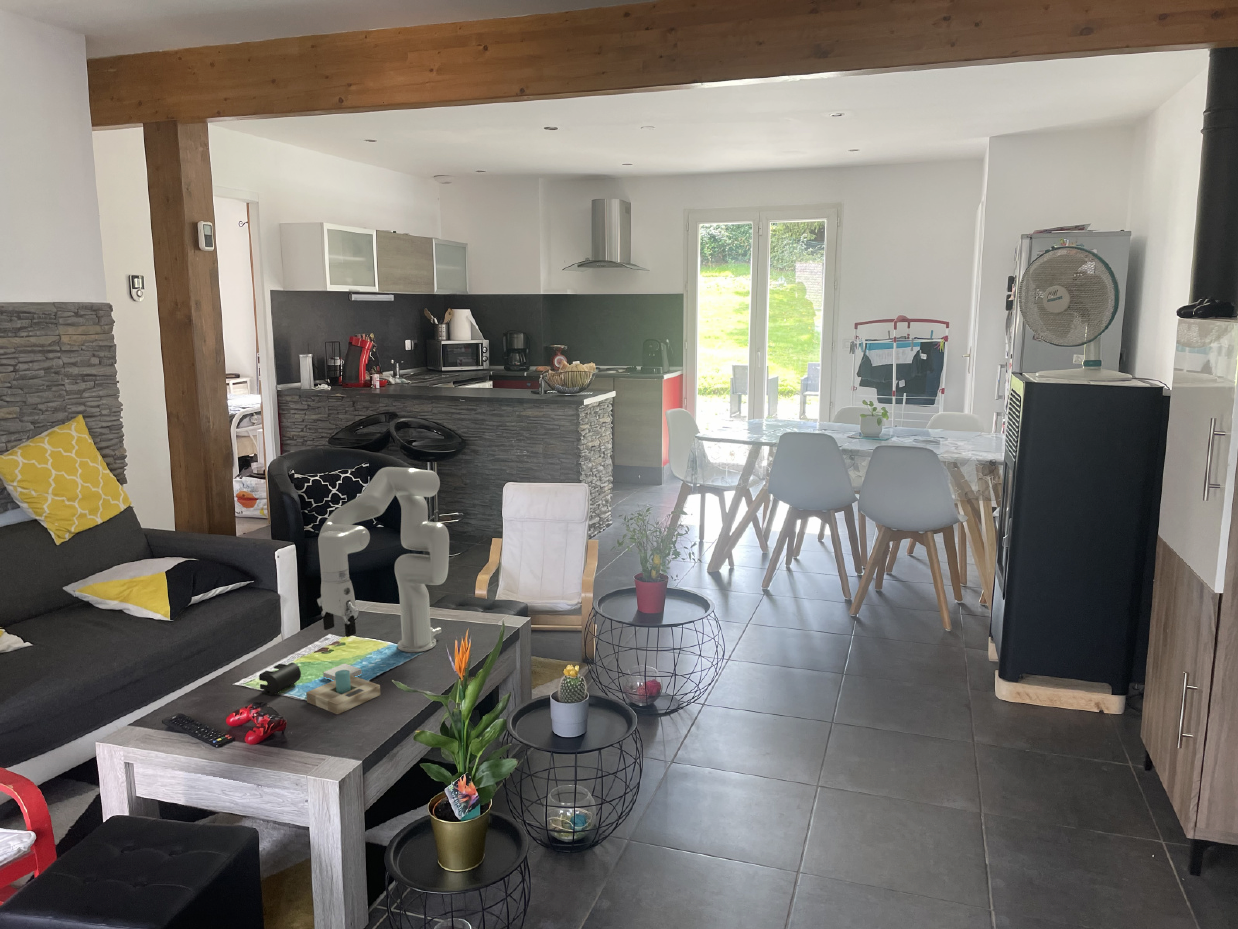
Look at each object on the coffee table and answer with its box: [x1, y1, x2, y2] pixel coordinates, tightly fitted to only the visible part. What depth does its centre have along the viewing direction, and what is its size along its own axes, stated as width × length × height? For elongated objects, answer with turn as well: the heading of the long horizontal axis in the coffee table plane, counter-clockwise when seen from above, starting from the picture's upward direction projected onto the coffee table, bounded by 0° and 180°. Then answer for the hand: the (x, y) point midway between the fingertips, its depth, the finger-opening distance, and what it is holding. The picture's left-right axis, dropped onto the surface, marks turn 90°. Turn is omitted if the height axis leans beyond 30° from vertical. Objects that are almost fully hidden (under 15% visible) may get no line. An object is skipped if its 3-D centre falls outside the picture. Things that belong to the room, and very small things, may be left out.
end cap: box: [258, 662, 302, 697], centre depth 260 cm, size 10×7×7 cm
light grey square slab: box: [322, 663, 363, 680], centre depth 268 cm, size 8×8×2 cm
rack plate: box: [305, 675, 381, 715], centre depth 253 cm, size 15×14×3 cm
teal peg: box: [335, 670, 351, 695], centre depth 253 cm, size 4×4×8 cm
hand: (339, 632), depth 250 cm, fingers open, 9 cm apart
